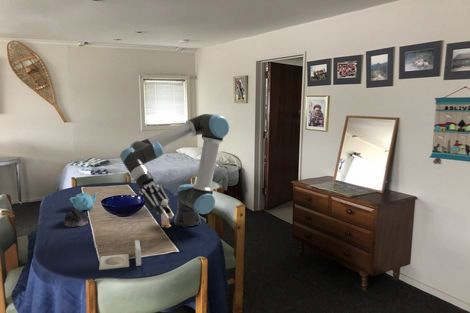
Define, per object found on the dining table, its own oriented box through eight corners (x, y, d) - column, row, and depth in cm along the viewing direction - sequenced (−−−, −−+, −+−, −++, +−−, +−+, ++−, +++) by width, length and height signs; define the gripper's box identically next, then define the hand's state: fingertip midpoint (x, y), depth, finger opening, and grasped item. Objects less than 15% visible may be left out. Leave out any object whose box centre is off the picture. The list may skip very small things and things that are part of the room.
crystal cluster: (82, 219, 211) (79, 203, 209) (94, 222, 202) (91, 206, 200) (59, 226, 200) (56, 209, 199) (71, 230, 192) (68, 213, 190)
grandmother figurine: (174, 225, 163) (174, 198, 161) (171, 228, 159) (171, 201, 157) (158, 223, 164) (157, 197, 161) (155, 227, 160) (154, 200, 158)
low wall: (139, 252, 166) (139, 239, 166) (141, 265, 153) (140, 252, 152) (135, 252, 166) (134, 240, 165) (136, 265, 153) (136, 252, 152)
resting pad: (128, 254, 163) (128, 253, 163) (129, 266, 152) (129, 265, 152) (100, 257, 159) (100, 256, 159) (99, 269, 148) (99, 268, 148)
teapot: (68, 212, 221) (67, 195, 219) (81, 204, 235) (80, 188, 233) (87, 214, 220) (86, 196, 217) (99, 206, 233) (98, 190, 231)
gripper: (150, 178, 173) (176, 217, 167) (125, 185, 160) (152, 227, 154) (158, 169, 170) (185, 209, 164) (133, 175, 156) (161, 218, 150)
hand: (169, 218), depth 159 cm, fingers closed on grandmother figurine, 3 cm apart
